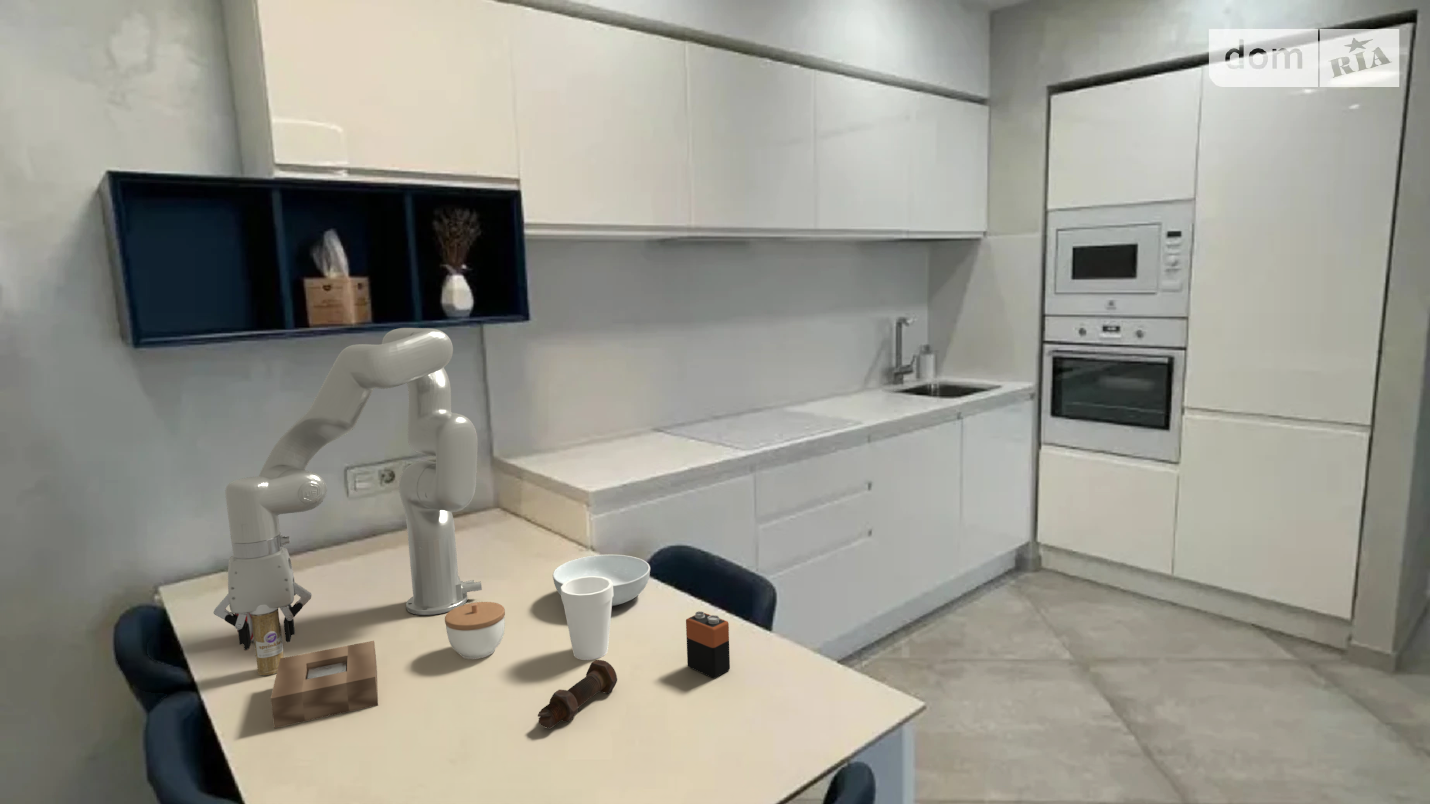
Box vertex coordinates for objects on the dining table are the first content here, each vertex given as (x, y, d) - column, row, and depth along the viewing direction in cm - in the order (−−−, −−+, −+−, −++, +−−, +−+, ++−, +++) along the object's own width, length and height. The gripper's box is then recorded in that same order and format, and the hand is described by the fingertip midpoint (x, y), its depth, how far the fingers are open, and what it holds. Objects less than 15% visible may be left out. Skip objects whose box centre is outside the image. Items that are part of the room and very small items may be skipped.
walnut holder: (376, 666, 142) (374, 640, 141) (377, 705, 129) (375, 676, 128) (283, 685, 136) (280, 658, 135) (274, 728, 123) (270, 698, 122)
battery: (714, 679, 134) (712, 624, 132) (686, 667, 138) (684, 613, 137) (731, 670, 137) (729, 616, 135) (703, 658, 141) (701, 606, 140)
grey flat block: (347, 670, 136) (346, 661, 136) (346, 685, 130) (345, 676, 130) (309, 677, 133) (308, 669, 133) (307, 693, 128) (306, 684, 128)
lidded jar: (518, 642, 150) (514, 595, 149) (487, 668, 140) (483, 618, 139) (469, 637, 153) (465, 591, 152) (435, 662, 143) (431, 613, 142)
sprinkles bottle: (266, 678, 139) (258, 606, 137) (251, 673, 141) (243, 602, 139) (291, 667, 143) (283, 597, 141) (276, 662, 145) (268, 593, 143)
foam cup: (555, 652, 145) (551, 586, 144) (595, 636, 152) (592, 572, 150) (584, 669, 139) (580, 599, 137) (626, 651, 145) (622, 584, 143)
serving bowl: (663, 608, 164) (662, 577, 164) (564, 626, 157) (562, 594, 156) (636, 576, 184) (635, 547, 183) (546, 591, 176) (544, 561, 175)
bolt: (542, 741, 120) (603, 693, 133) (563, 734, 117) (622, 686, 130) (525, 707, 121) (587, 662, 133) (545, 698, 118) (606, 654, 131)
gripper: (312, 534, 145) (322, 625, 148) (204, 548, 139) (216, 644, 141) (310, 545, 139) (320, 641, 141) (195, 561, 132) (208, 662, 134)
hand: (268, 642), depth 141 cm, fingers open, 5 cm apart
